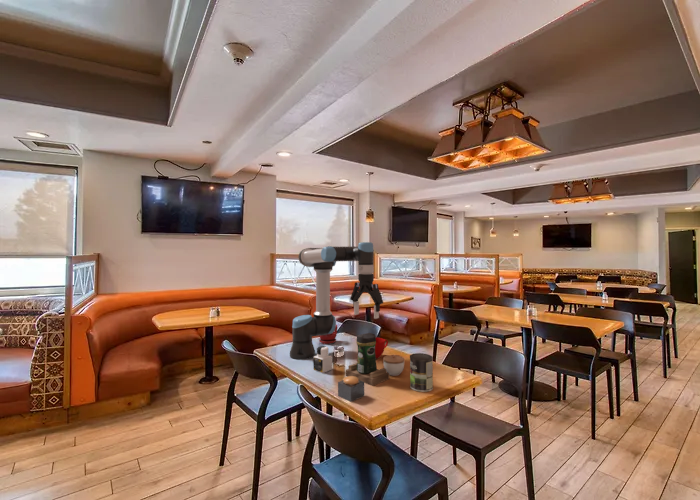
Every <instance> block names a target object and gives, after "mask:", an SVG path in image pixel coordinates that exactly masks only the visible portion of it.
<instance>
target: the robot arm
mask: <svg viewBox="0 0 700 500" xmlns="http://www.w3.org/2000/svg"><path fill="white" fill-rule="evenodd" d="M374 251H375V250H374V243H373V242H371V241H367V242H365V241H364V242H363V241H362V242H359V243H358V245H357V246H332V245H331V246H330V245H329V246H323V247H307V248H304V249H302V250H301V251H299V254H298V257H297V258H298V262H299V263H300V264H301V265H302V266H304V267H307V268H313V270H314V272H315V273H316V274H315V282H316V283H315V311H314V312H313V316H312V315H311V314H303V315H299V316H298V315H297V316H296V317H294V318H293V319H292V326H291V327H292V344H291V348H290V350H289V357H290V359H294V360H305V359H311V358H313V357H314V356H316V350H315V347H314V344H313V338H314V337H319V336H320V335H327V334H331V333H333V331H334V330H335V327H336V325H337V320H336V316H334V315H333V312H332V311H331V272H332V271H333V267H335V266H336V264H337V262H358V266H357V267H358V274H357V275H358V276H357V278H358V281H357V282H354V287H353V290H352V292H351V296H350V297H349V300H350V301H352V302H353V304H352V307H353V315H354V316H357V315H360V301H359V299H360V298H361V296H362V295H363V293H367V294H369V296H370V298H371V300H372V301H373V302H374V305H373V319H375V320H377V319H380V311H381V305H383V304H384V300H383V297H382V295H381V292H380V289H379V284H378V283H374V271H375V269H374V266H375V265H374V263H375V262H374V256H375V255H374V254H375V253H374Z"/></svg>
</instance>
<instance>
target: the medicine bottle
mask: <svg viewBox="0 0 700 500" xmlns="http://www.w3.org/2000/svg"><path fill="white" fill-rule="evenodd" d="M312 358H313V360H312V362H313V371H316V372H319V373H322V374H323V373H326V372H329V371H331V370H333V356H332V355H329V347H328V346H325V345H321V346H318V347H317V348H316V355H315V356H314V357H312Z"/></svg>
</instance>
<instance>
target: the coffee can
mask: <svg viewBox="0 0 700 500" xmlns="http://www.w3.org/2000/svg"><path fill="white" fill-rule="evenodd" d="M433 360H434V358H433V356H432V355H431V354H429V353H421V352H417V353H415V352H414V353H411V354H410V355H409V383H410V384H409V387H410V389H411V390H412V391H416V392H419V393H427V392H431V391H433V389H434V387H433V386H434V381H433V379H434V378H433V374H434V373H433V370H434V367H433V365H434V363H433Z"/></svg>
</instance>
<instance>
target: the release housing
mask: <svg viewBox="0 0 700 500" xmlns="http://www.w3.org/2000/svg"><path fill="white" fill-rule="evenodd" d="M343 381H344V379H342V380H340V381H337V396H338V397H339V398H342V399H344V400H346V401H349V402H354V401H357V400H358V399H361V398H363V397H365V383H364V382H363V381H360V380H359V383H357V384H354V385H351V386H350V385H348V384H345V383H343Z"/></svg>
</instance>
